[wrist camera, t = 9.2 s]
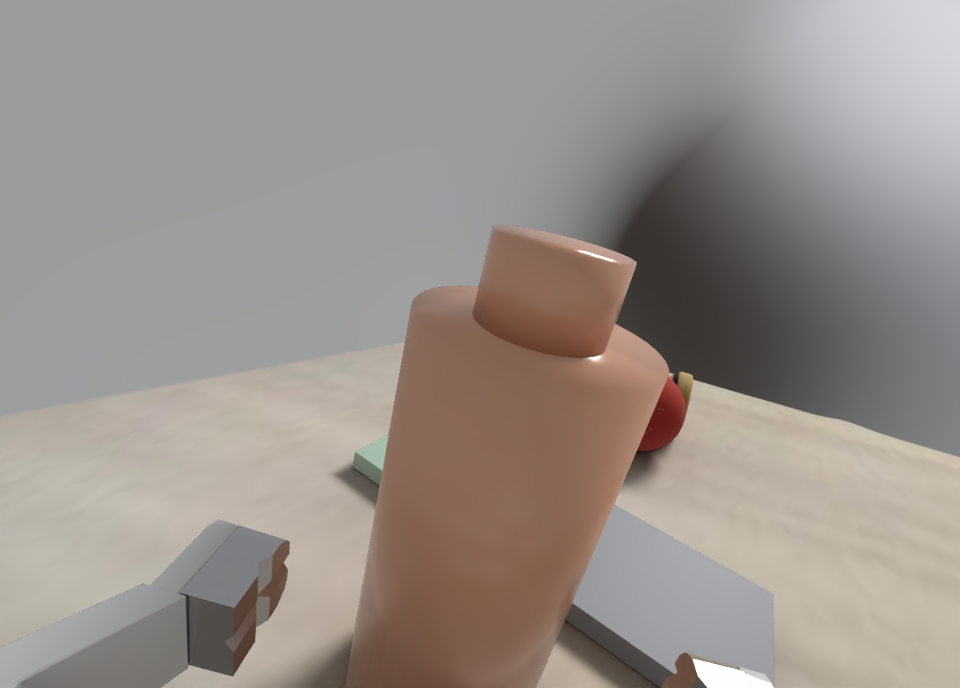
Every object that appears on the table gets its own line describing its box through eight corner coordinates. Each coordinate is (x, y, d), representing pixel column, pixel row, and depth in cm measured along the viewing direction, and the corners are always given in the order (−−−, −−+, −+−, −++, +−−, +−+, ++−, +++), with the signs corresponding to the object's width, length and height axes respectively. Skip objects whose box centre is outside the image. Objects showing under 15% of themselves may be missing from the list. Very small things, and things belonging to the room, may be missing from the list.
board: (763, 608, 21) (773, 594, 21) (760, 760, 15) (774, 743, 15) (438, 419, 30) (441, 407, 30) (353, 466, 24) (355, 451, 24)
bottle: (550, 669, 16) (720, 275, 11) (454, 857, 11) (678, 308, 6) (425, 571, 19) (512, 215, 14) (304, 689, 14) (365, 202, 9)
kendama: (595, 374, 48) (563, 422, 31) (625, 323, 46) (610, 346, 30) (661, 413, 46) (666, 486, 29) (696, 362, 44) (722, 409, 28)
